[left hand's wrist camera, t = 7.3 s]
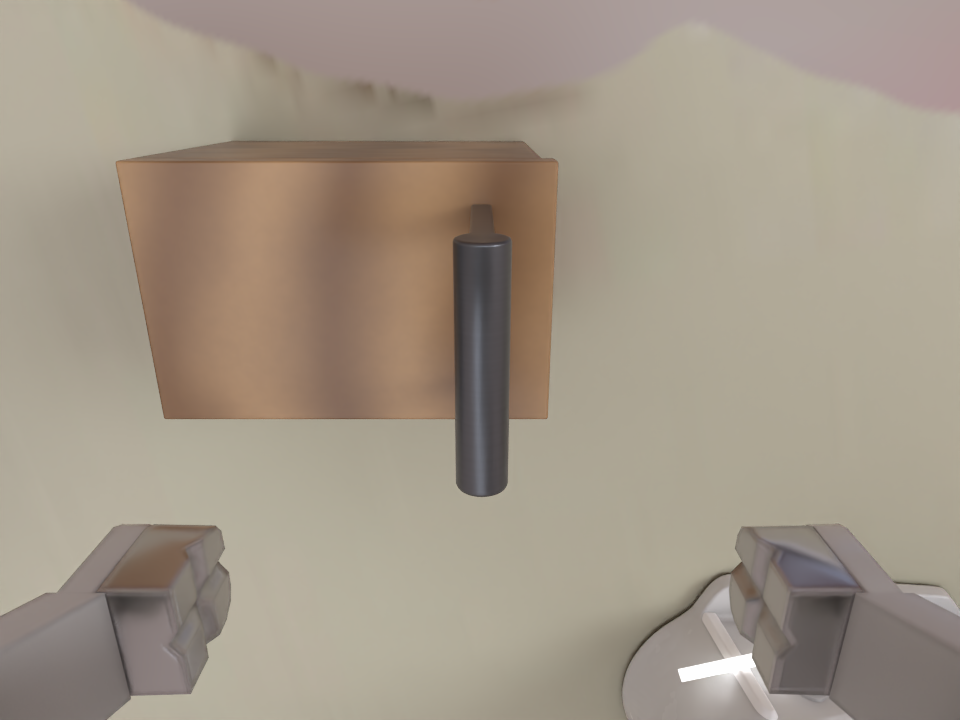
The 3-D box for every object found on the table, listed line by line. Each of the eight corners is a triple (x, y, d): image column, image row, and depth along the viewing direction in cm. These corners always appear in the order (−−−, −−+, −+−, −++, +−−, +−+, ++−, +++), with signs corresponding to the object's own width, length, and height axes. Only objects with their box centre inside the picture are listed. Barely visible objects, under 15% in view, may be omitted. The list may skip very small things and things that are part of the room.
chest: (524, 141, 33) (542, 158, 24) (520, 327, 36) (534, 405, 27) (230, 141, 33) (132, 157, 24) (254, 327, 36) (177, 405, 27)
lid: (554, 158, 24) (594, 189, 15) (544, 405, 27) (572, 536, 19) (132, 158, 24) (-49, 189, 15) (177, 405, 27) (49, 536, 19)
